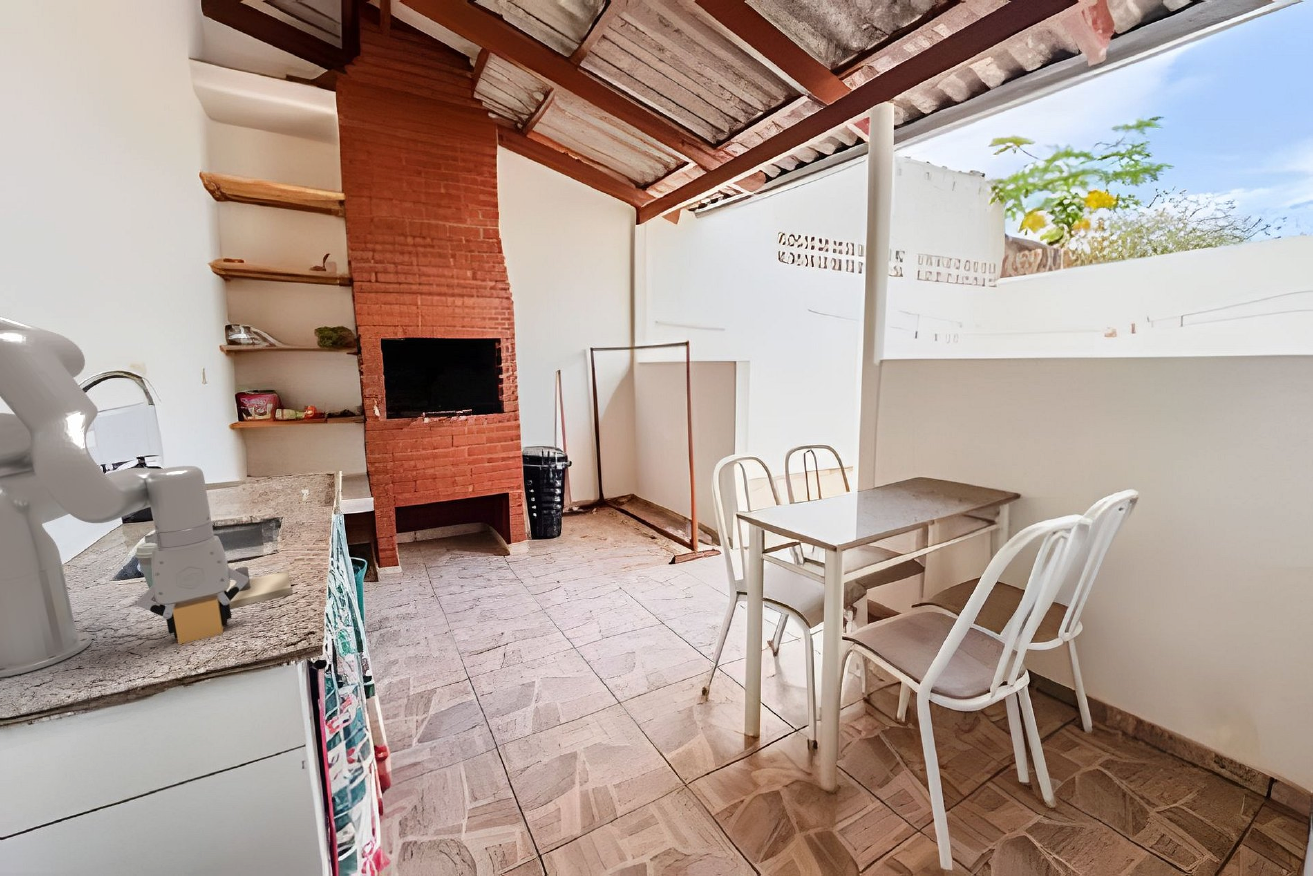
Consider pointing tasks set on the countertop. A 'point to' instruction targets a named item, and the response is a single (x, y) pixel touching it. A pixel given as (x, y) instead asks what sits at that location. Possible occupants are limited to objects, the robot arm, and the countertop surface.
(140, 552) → the coffee cup
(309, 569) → the countertop surface
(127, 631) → the countertop surface
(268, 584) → the post board
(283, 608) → the countertop surface
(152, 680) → the countertop surface
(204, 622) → the tan matte cube
